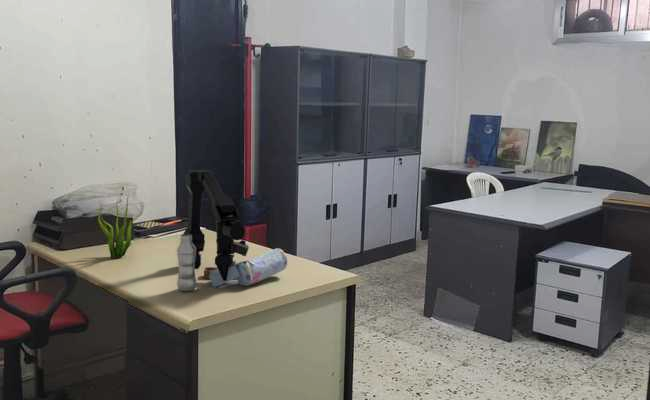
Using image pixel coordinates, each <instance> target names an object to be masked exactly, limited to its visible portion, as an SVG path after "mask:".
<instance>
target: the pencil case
mask: <svg viewBox="0 0 650 400" xmlns="http://www.w3.org/2000/svg"><path fill="white" fill-rule="evenodd" d="M287 266H288V257H287V254H286V253H285V251H284V250H282V249H281V248H274V249H272V250H270V251H268V252H265V253H264V254H261V255H259V256H256V257H254V258H251V259H249V260H242V261H240V262H238V263H237V265H236V268H237V270H238V272H239V275H240V276H239V277H237V278H236V281H238V282H239V283H240V284H241V286H244V287H245V286H246V287H247V286H252V285H254V284H257V283H259V282H261V281H264V280H266V279H268V278H269V277H272V276H275V275H277V274H279V273H281V272H283V271H284V270H285V269H286V268H287Z"/></svg>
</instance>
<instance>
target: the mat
mask: <svg viewBox="0 0 650 400" xmlns="http://www.w3.org/2000/svg"><path fill="white" fill-rule="evenodd" d="M239 288H240V289H241V288H242V284H240V283H239V282H238V281H237V280H235V281H234V280H230V281H228V282H226V283H223V284H221V285H219V286H216V287H214V286H213V284H212V282H211V280H209V281H208V282H207V285H206V289H239Z"/></svg>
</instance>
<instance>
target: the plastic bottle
mask: <svg viewBox="0 0 650 400" xmlns="http://www.w3.org/2000/svg"><path fill="white" fill-rule="evenodd" d="M181 241H182V242H181ZM191 241H192V235H191V234H183V233H182V234H181V235H180V243H179V244H178V247H177V249H176V252H177V253H176V254H177V260H178V261H177V262H178V275H177V276H178V277H177V280H176V281H177V282H176V287H177V289H178V291H180V292H192V291H194V290H195V289H196V288H197V278H196V270H195V269H196V268H195V256H196V247H195V246H194V244H193V243H192V242H191Z"/></svg>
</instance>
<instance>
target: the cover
mask: <svg viewBox="0 0 650 400" xmlns="http://www.w3.org/2000/svg"><path fill="white" fill-rule="evenodd" d="M237 262H238V261H236V260H233V264H232V265H231V266H230V267H229V269H228V275H227V280H226V281H224V280H223V278H222V276H221V274H220V272H219V270H218V268H217V269H214V270H212V271H210V274H209V277H210V279H209V281H211V282H212V284H213V286H214V287H216V286H219V285H221V284H223V283H226V282H228V281H233V280H234V279H235V278H237V277H239V276H240V275H239V272H238V270H237V268H236V265H237V264H238V263H237Z"/></svg>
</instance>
